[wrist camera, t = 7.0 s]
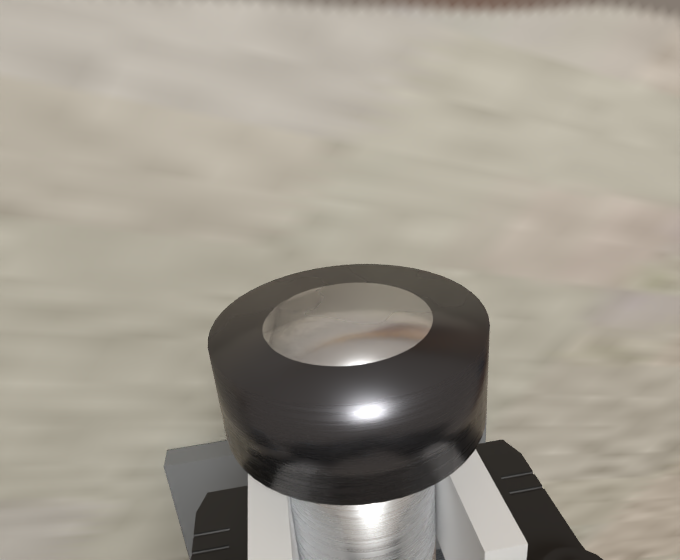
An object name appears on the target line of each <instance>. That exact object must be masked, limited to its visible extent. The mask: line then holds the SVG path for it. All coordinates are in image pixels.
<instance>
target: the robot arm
mask: <svg viewBox="0 0 680 560" xmlns="http://www.w3.org/2000/svg"><path fill="white" fill-rule="evenodd" d="M435 534H436V537H437V539H438V542H439V545H440V547H441V550H442V553H443V555H444V558H445V560H603V559H601V558H600V557H599V556H598V555H596V554H594V553H591V552H589V551H586V550H585V549H584V547H583V546H582V545H581V544H580V542H579V541H578V539H577V538H576V536H575V535H574V533H573V532H572V530H571V529H570V527H569V526H568V524H567V523H566V521H565V520H564V518H563V517H562V515H561V514H560V512H559V511H558V509H557V507H556V506H555V504H554V503H553V501H552V500H551V498H550V497H549V495H548V494H547V492H546V491H545V489H543V488H542V485H541V483H540V482H539V480H538V479H537V477H536V476H535V474H533V472H532V469H531V468H530V466H529V465H528V463H527V462H526V460H525V459H524V457H523V456H522V454H521V453H520V452H518V451H517V450H516V449H514V448H513V447H512V446H510V445H509V444H508V443H506V442H505V441H504V440H497V441H492V442H486V443H480V444H478V446H477V447H476V449H475V451H474V452H473V453H472V455H471V456H470V457H469V458H468V459H467V461H466V462H465V463H464V464H463V465H462V466H460V467H459V468H458V469H457V470H456V471H455V472H454V473H452V474H451V475H449V476H448V477H446V478H445V479H443V480H442V481H440V482H439V483H437V484H435ZM191 560H299V553H298V547H297V541H296V534H295V528H294V522H293V516H292V510H291V503H290V497H289V496H286V495H283V494H281V493H278V492H276V491H274V490H272V489H270V488H268V487H266V486H264V485H263V484H261V483H260V482H258V481H257V480H255V479H254V478H253V477H252V476H250V475H249V474H248V486H242V487H236V488H230V489H225V490H219V491H213V492H208V493H207V494H206V496H205V498H204V500H203V501H202V503H201V505H200V507H199V508H198V510H197V512H196V517H195V526H194V538H193V544H192V556H191Z"/></svg>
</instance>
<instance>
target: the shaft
mask: <svg viewBox="0 0 680 560" xmlns="http://www.w3.org/2000/svg"><path fill="white" fill-rule="evenodd" d="M489 330H490V324H489V317H488V314H487V312H486V309H485V307H484V306H483V304H482V303H481V302H480V300H479V299H478V298H477V297H476V296H475V295H474V294H473V293H472V292H470V291H469V290H468V289H466V288H465V287H463V286H462V285H460V284H458V283H456V282H454V281H452V280H450V279H447V278H445V277H443V276H440V275H437V274H434V273H431V272H427V271H423V270H419V269H414V268H408V267H402V266H393V265H379V264H354V265H340V266H331V267H324V268H318V269H312V270H308V271H303V272H299V273H295V274H292V275H288V276H285V277H282V278H279V279H276V280H273V281H271V282H268V283H266V284H263V285H261V286H259V287H257V288H255V289H253V290H251V291H249V292H248V293H246V294H244V295H243V296H241V297H239V298H238V299H237V300H235V301H234V302H233V303H231V304H230V305H229V306H228V307H227V308H226V309H225V310H224V311H223V312H222V313H221V314H220V315H219V316H218V318H217V319H216V320H215V322H214V324H213V326H212V328H211V330H210V333H209V337H208V351H209V355H210V360H211V365H212V369H213V374H214V379H215V384H216V388H217V393H218V398H219V403H220V407H221V412H222V417H223V421H224V426H225V431H226V436H227V440H228V443H229V447H230V449H231V451H232V453H233V455H234V457H235V459H236V460H237V462H238V463H239V464H240V466H241V467H242V468H243V469H244V470H245V471H246V472H247V473H248V474H249V475H250V476H252V477H253V478H254V479H255V480H257V481H258V482H260V483H261V484H263V485H264V486H266V487H268V488H270V489H272V490H274V491H276V492H278V493H281V494H283V495H286V496H289V497H290V503H291V510H292V516H293V522H294V528H295V534H296V541H297V547H298V553H299V560H436V534H435V484H437V483H439V482H440V481H442V480H443V479H445V478H446V477H448V476H449V475H451V474H452V473H454V472H455V471H456V470H457V469H458V468H459V467H460V466H462V465H463V464H464V463H465V462H466V461H467V459H468V458H469V457H470V456H471V455H472V453H473V452H474V451H475V449H476V447H477V446H478V444H479V442H480V440H481V438H482V435H483V432H484V429H485V423H486V411H487V384H488V357H489Z"/></svg>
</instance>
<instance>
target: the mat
mask: <svg viewBox="0 0 680 560" xmlns="http://www.w3.org/2000/svg"><path fill="white" fill-rule="evenodd" d="M486 413H487V412H486ZM485 440H486V423H485V429H484V432H483V435H482V438H481V440H480V442H479V444H480V443H485ZM164 469H165V473H166V476H167V480H168V483H169V487H170V490H171V494H172V498H173V501H174V505H175V508H176V512H177V515H178V519H179V523H180V526H181V530H182V533H183V537H184V540H185V544H186V548H187V551H188V555H189V558H190V560H191V556H192V544H193V538H194V526H195V517H196V512H197V510H198V508H199V507H200V505H201V503H202V501H203V500H204V498H205V496H206V494H207V493H208V492H213V491H219V490H225V489H230V488H236V487H242V486H248V473H247V472H246V471H245V470H244V469H243V468H242V467H241V466H240V464H239V463H238V462H237V460H236V459H235V457H234V455H233V453H232V451H231V449H230V447H229V443H228V440H226V441H220V442H214V443H208V444H202V445H196V446H190V447H184V448H177V449H171V450H167V453H166V458H165V463H164ZM436 549H441V547H440V545H439V542H438V539H437V537H436Z"/></svg>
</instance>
